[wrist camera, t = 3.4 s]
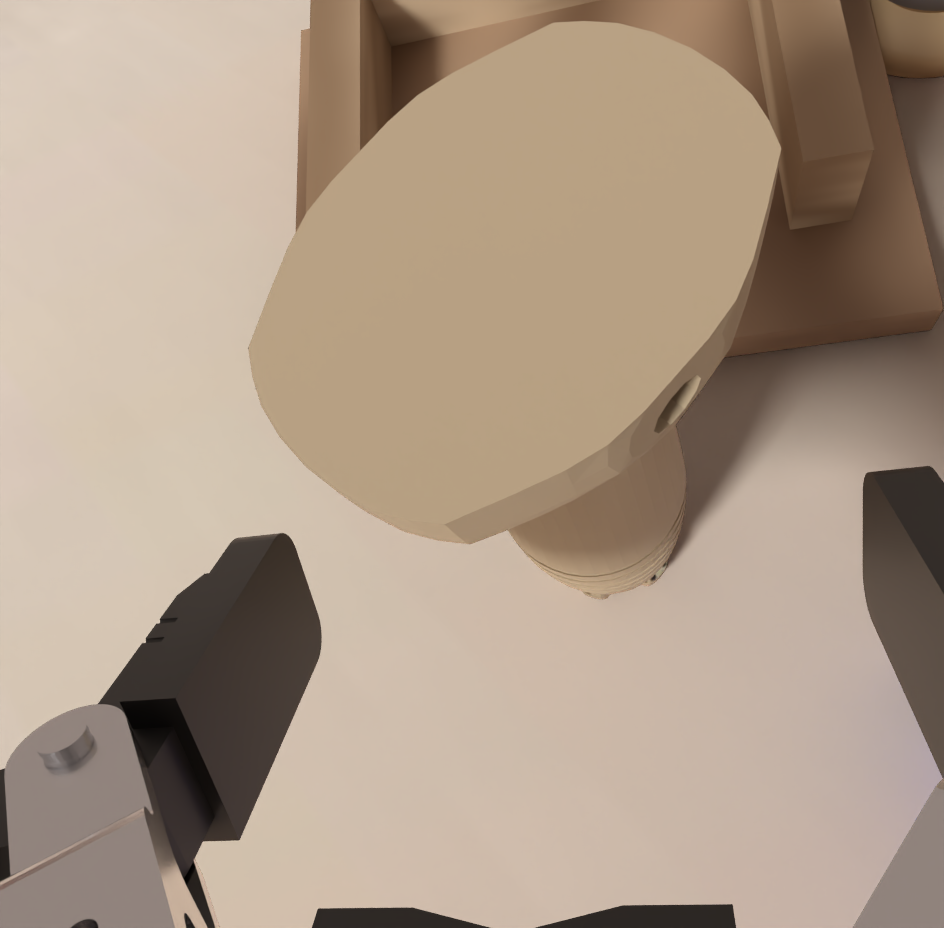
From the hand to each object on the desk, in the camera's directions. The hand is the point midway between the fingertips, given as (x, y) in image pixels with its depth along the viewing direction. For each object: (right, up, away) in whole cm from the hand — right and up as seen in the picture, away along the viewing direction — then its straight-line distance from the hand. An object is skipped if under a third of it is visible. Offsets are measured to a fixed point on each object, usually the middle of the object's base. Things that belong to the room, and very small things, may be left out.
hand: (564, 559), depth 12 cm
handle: (+3, -1, +11) cm, 12 cm away
